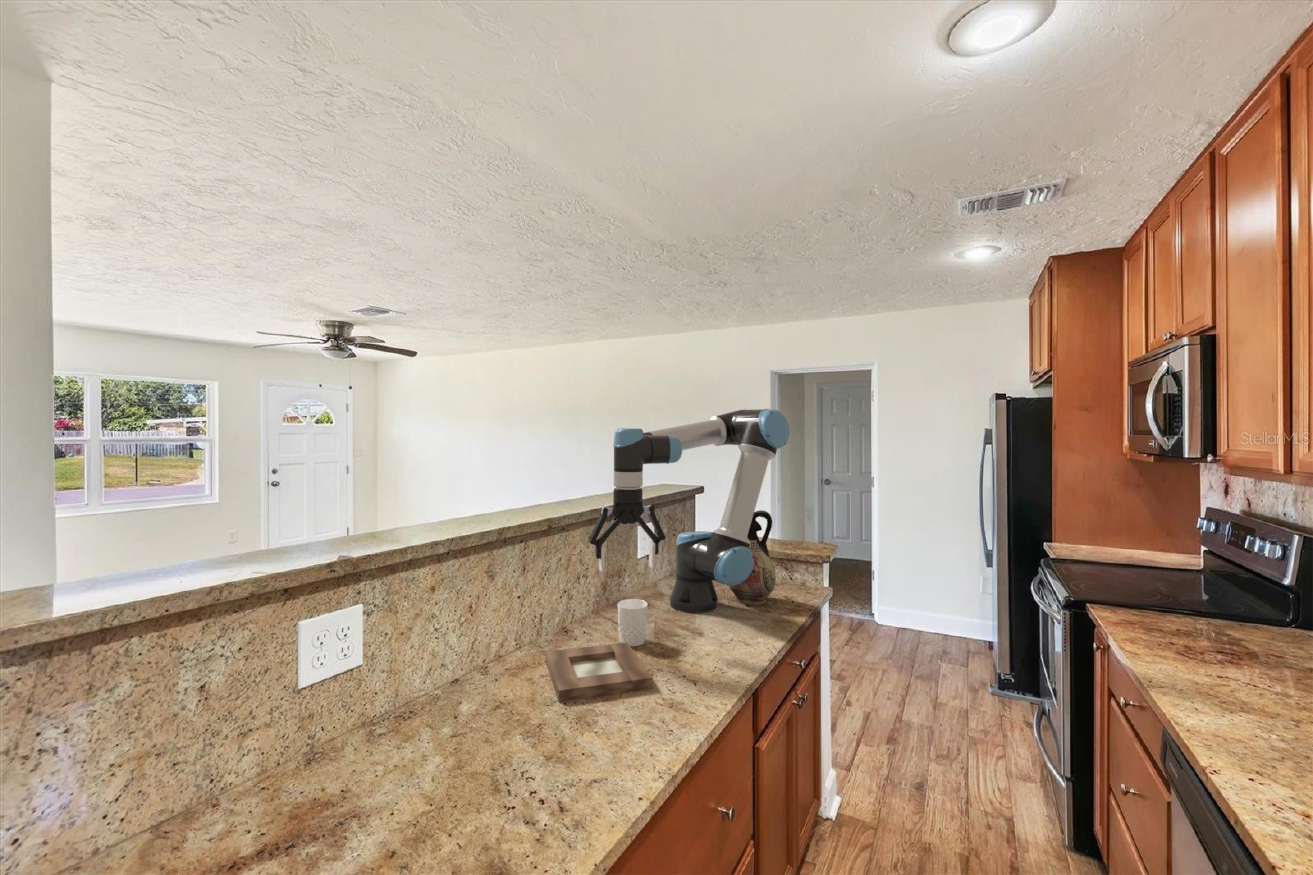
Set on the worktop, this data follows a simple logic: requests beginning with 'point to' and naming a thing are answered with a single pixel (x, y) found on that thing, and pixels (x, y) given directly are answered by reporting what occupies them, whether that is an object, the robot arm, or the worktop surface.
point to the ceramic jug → (757, 566)
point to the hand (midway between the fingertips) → (627, 569)
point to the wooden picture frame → (596, 671)
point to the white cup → (632, 621)
